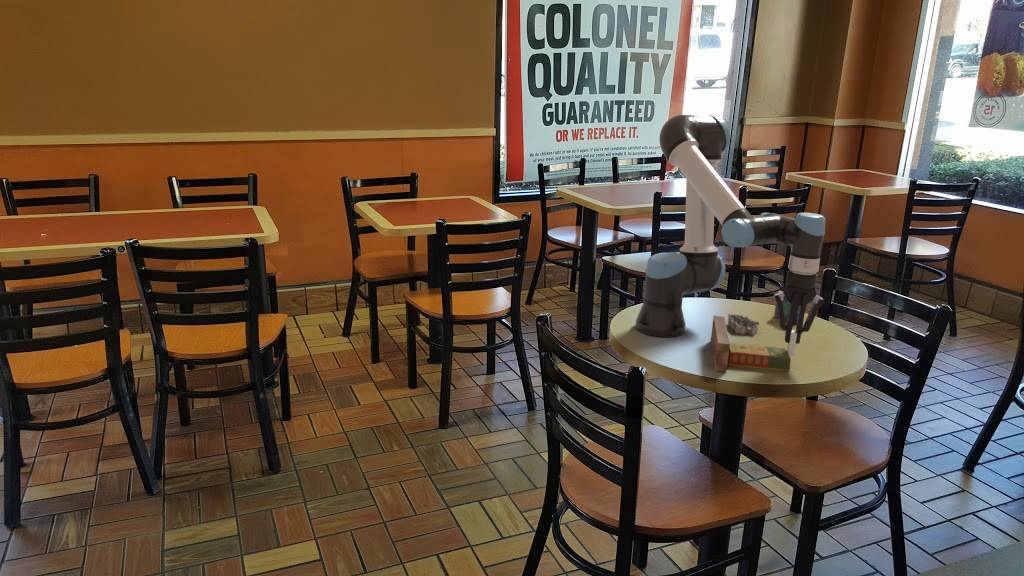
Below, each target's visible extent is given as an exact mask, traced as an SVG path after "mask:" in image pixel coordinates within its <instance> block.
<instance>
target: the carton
mask: <svg viewBox="0 0 1024 576" xmlns="http://www.w3.org/2000/svg"><path fill="white" fill-rule="evenodd" d="M729 343H730V347H729V354H728V362H727V365H729V366H733V367H734V366H735V367H743V366H745V368H753V367H754V368H755V369H764V368H765V370H773V369H775V371H776V370H777V371H783V370H786V371H785V372H790V370H791V363H792V361H791V357H790V355H788V353H787V348H784V347H775V346H763V345H755V344H745V343H734V342H729ZM754 368H753V369H754Z"/></svg>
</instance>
